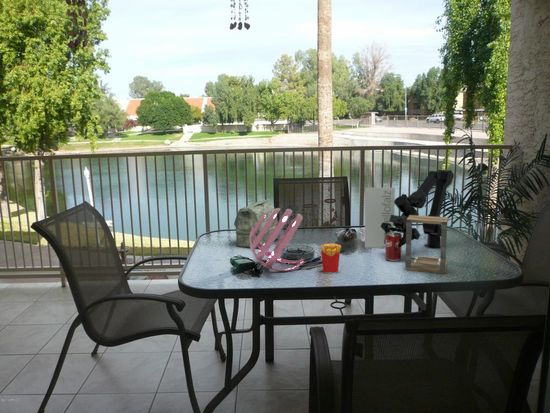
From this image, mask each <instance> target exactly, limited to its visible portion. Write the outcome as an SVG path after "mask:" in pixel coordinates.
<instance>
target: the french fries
mask: <svg viewBox="0 0 550 413" xmlns="http://www.w3.org/2000/svg"><path fill="white" fill-rule="evenodd" d="M320 247H321V251H320V256H321V263H322V271H323V273H326V272H331V273H332V274H333V273H335V272H336V273H338V272H339V268H340V266H339V263H340V257H341V256H340V254H341V248H342V246H341V244H337V243H329V244H328V243H324V244H323V245H320ZM331 273H330V274H331Z"/></svg>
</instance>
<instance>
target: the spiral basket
mask: <svg viewBox="0 0 550 413" xmlns="http://www.w3.org/2000/svg"><path fill="white" fill-rule="evenodd" d="M280 211H281V208H279V207H276V208H275V210H274V211H273V213H272V214H271V216H270V217H269V219H268V220H267V222H266V224H265V225H264V227H263V228H262V230H261V231H260V233H259V234H258V236H257V237H256V236H255V233H256V231H257V230H258V228H259V226H260V225H261V223H262V222H263V220H264V219H265V217H266V216H267V214H268V212H269V211H267V212H265V213H264V214H263V215H262V217H261V218H260V220H259V221H258V223H257V224H256V226H255V228H254V227H253V228H252V229H251V231H250V236H249V240H250V247H249V248H250V251H251V253H252V254H253V256H254V258H255V260H256V262H258V263H260V265H262V267H264V268H266V269H267V270H271V271H275V272H289V271H290V272H291V271H293V270H295V269H297V268H299V267H300V266H302V265H303V264H304V261H305V259H303V258H302V259H298V260H288V259H284V258H282V257H281V255H282V254H283V252H284V251H285V249H286V247H287V246H288V245H289V243H290V241H291V240H292V238H293V236H294V235H295V233H296V232H297V230H298V228H299V227H300V224H301V223H302V221H303V219H304V218H303V215H302V214H300V213H297V214H296V215H295V217H294V218H293V219H292V221H291V222H290V224H289V225H288V226H287V228H286V229H285V230H284V233H282V235H281V237H280V238H279V240H278V242H277V243H276V245H275V246H274V248H273V250H272V251H269V250H270V248H271V247H272V245H273V244H274V243H275V241H276V240H277V239H278V238H277V236H278V235H279V236H280V233H281V232H282V230H283V229H284V227H285V225H286V223H288V222H287V221H288V220H290V217H291V215H292V213H293V209H291V208H286V210H285V211H284V212H283V214H282V215H281V216H280V218H279V220H278V223H277V224H276V226H275V227H274V229H273V230H272V232H271V233H270V235H269V237H268V238H267V240H266V241H265V243H264V244H263V245H261V244H260V241H261V239H262V237H263V236H264V234H265V233H266V231H267V230H268V228H269V227H270V225H271V224H272V222H273V220H274V219H275V217H276V216H277V217H278V215H279V212H280ZM252 237H253V239H254V242H253V244H252ZM276 238H277V239H276ZM256 247H258V248H256ZM255 249H258V250H259V251H258V253H256V251H255ZM265 256H267V257H266V258H267V260H266V261H265V262H264V261H263V258H264V257H265ZM276 262H277V263H282V264H286V263H288V264H289V265H291V264H292V265H293V264H297V265H295V266H292V267H290V268H281V269H280V268H276V267H274V265H275V264H276Z"/></svg>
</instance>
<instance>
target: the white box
mask: <svg viewBox="0 0 550 413" xmlns="http://www.w3.org/2000/svg"><path fill="white" fill-rule="evenodd" d="M395 189H396V188H395V187H365V190H364V192H365V194H364V195H365V196H364V197H365V198H364V248H370V249H385V244H384V241H385V232H384V230H383V229H382V228H381V227H380V226H381V224H382V223H383V222H385V223H390V224H391V225H392V227H395V226H394V225H393V222H390V221H389V220H390V217H391V215H395V207H396V205H395V203H394V201H395V199H396V198H395V196H396V193H395V192H396V190H395Z"/></svg>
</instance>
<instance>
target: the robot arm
mask: <svg viewBox="0 0 550 413" xmlns="http://www.w3.org/2000/svg"><path fill="white" fill-rule="evenodd" d="M454 176H455V175H454V172H453V170H451V169H437V170H430V171H428V173H427V176H426V177H425V179H423V181H422V183H421V185H419V187H418V189H417V190H416V191H413V192H411V194H409V196H408V195H407V194H405V193H402V194H401V195H400V196H397V197H396V198H395V201H394V203H395V207H397V209H398V210H399V212H400V213H402V214H401V215H395V214H394V215H391V217H390V220H389V221H390V222H393V225H394V227H392V225H391V224H390V223H385V222H383V223H382V224H381V226H380V227H381V228H382V229H383V230H384V232H385V235H386V233H388V232H398V233H401V234H402V239H401V241H400V243H399V245H398V248H400V247H403V246H405V245H406V219H407V218H408V217H409V215H414V216H420V214H419V212H418V210H417V209H423V208H424V206H425V204H426V203H427V196H428V195H429V193H430V191H431V190H432V189H433V187H435V191H434V194H433V199H432V202H431V206H430V211H429V213H428V214H427V216H433V217H441V213H442V208H443V204H444V200H445V196H446V192H447V189H448V187H449V186H450V185H452V182H453V179H454V178H455V177H454ZM434 185H435V186H434ZM413 225H414V224H413V223H412V226H413ZM422 230H423V234H424V235H427V236H426V243H425V244H424V246H426V247H427V248H430V249H437V248H441V230H442V224H428V223H422ZM420 238H421V234H420V232H419V231H418V229H417V227H412V239H411V241H414V240H419V239H420ZM384 244H385V241H384Z"/></svg>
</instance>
